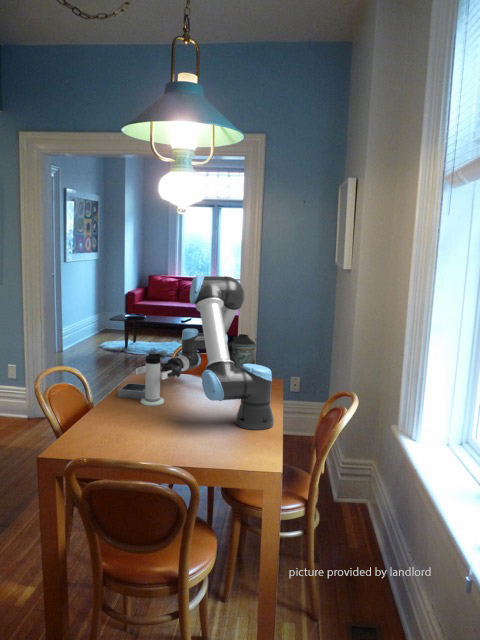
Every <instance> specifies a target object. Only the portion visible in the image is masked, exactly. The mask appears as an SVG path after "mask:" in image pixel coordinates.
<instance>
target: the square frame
mask: <svg viewBox="0 0 480 640" xmlns="http://www.w3.org/2000/svg"><path fill="white" fill-rule="evenodd" d="M145 384H146V383H133V382H127V383H126V384H124V385H122V386H121V387H119V388H118V389H117V398H120V399H121V398H122V399H133V400H141V399H142V398H144V397H145Z"/></svg>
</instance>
